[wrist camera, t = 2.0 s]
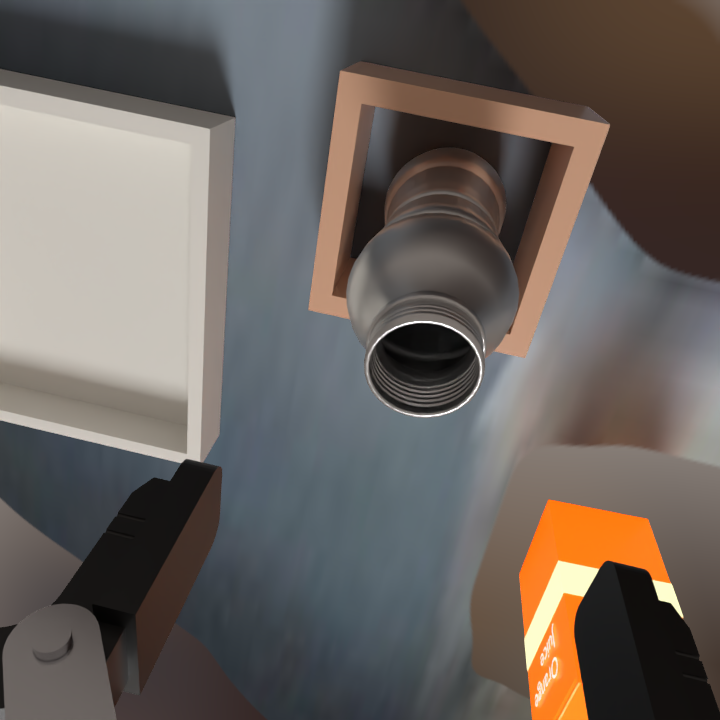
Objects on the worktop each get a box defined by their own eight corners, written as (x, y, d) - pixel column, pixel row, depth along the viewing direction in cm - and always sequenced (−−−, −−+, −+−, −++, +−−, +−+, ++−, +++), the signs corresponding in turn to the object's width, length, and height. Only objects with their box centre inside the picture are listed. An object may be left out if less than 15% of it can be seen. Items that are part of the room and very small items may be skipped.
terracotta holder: (360, 60, 32) (340, 70, 27) (587, 106, 32) (610, 124, 27) (329, 270, 39) (308, 309, 34) (517, 311, 38) (525, 358, 33)
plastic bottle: (515, 231, 36) (558, 433, 19) (407, 261, 38) (356, 468, 21) (489, 122, 33) (511, 242, 16) (374, 161, 35) (284, 305, 18)
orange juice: (517, 574, 50) (542, 865, 33) (547, 498, 45) (594, 790, 28) (611, 594, 49) (686, 900, 32) (651, 518, 45) (762, 829, 28)
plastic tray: (-86, 51, 36) (-144, 55, 32) (235, 117, 35) (210, 129, 31) (-19, 378, 48) (-56, 407, 45) (219, 434, 47) (200, 467, 44)
